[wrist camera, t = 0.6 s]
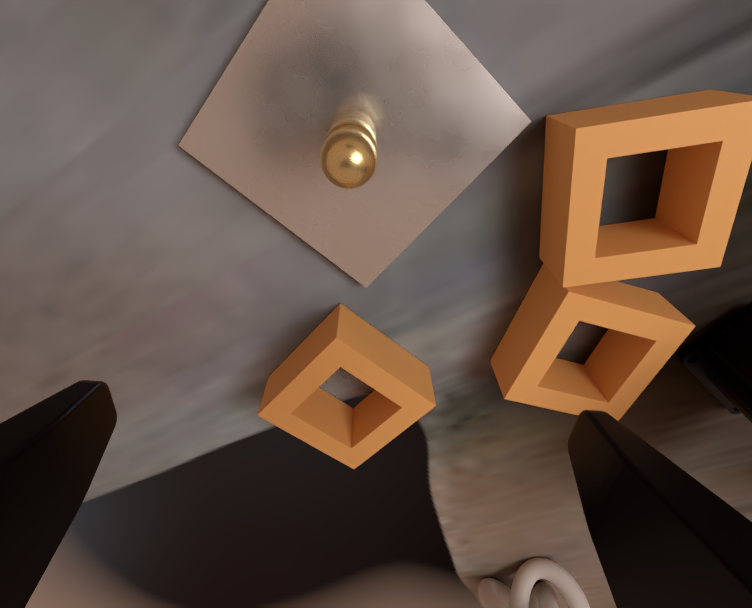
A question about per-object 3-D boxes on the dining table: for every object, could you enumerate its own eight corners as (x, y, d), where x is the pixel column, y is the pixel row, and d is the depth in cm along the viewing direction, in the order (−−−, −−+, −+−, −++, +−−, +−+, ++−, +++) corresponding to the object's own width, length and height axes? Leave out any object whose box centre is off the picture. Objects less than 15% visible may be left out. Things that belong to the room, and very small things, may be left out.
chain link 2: (657, 292, 22) (695, 326, 20) (591, 384, 25) (616, 423, 23) (544, 260, 21) (568, 291, 19) (489, 360, 24) (504, 398, 22)
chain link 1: (710, 89, 17) (769, 98, 15) (676, 238, 21) (720, 266, 18) (546, 115, 18) (576, 128, 15) (539, 257, 21) (562, 287, 18)
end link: (429, 367, 24) (435, 405, 22) (355, 428, 27) (354, 469, 24) (340, 303, 22) (336, 337, 20) (269, 376, 25) (257, 415, 22)
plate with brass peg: (526, 119, 18) (589, 150, 13) (366, 281, 22) (365, 356, 17) (334, -99, 14) (315, -175, 9) (183, 142, 18) (111, 182, 13)
